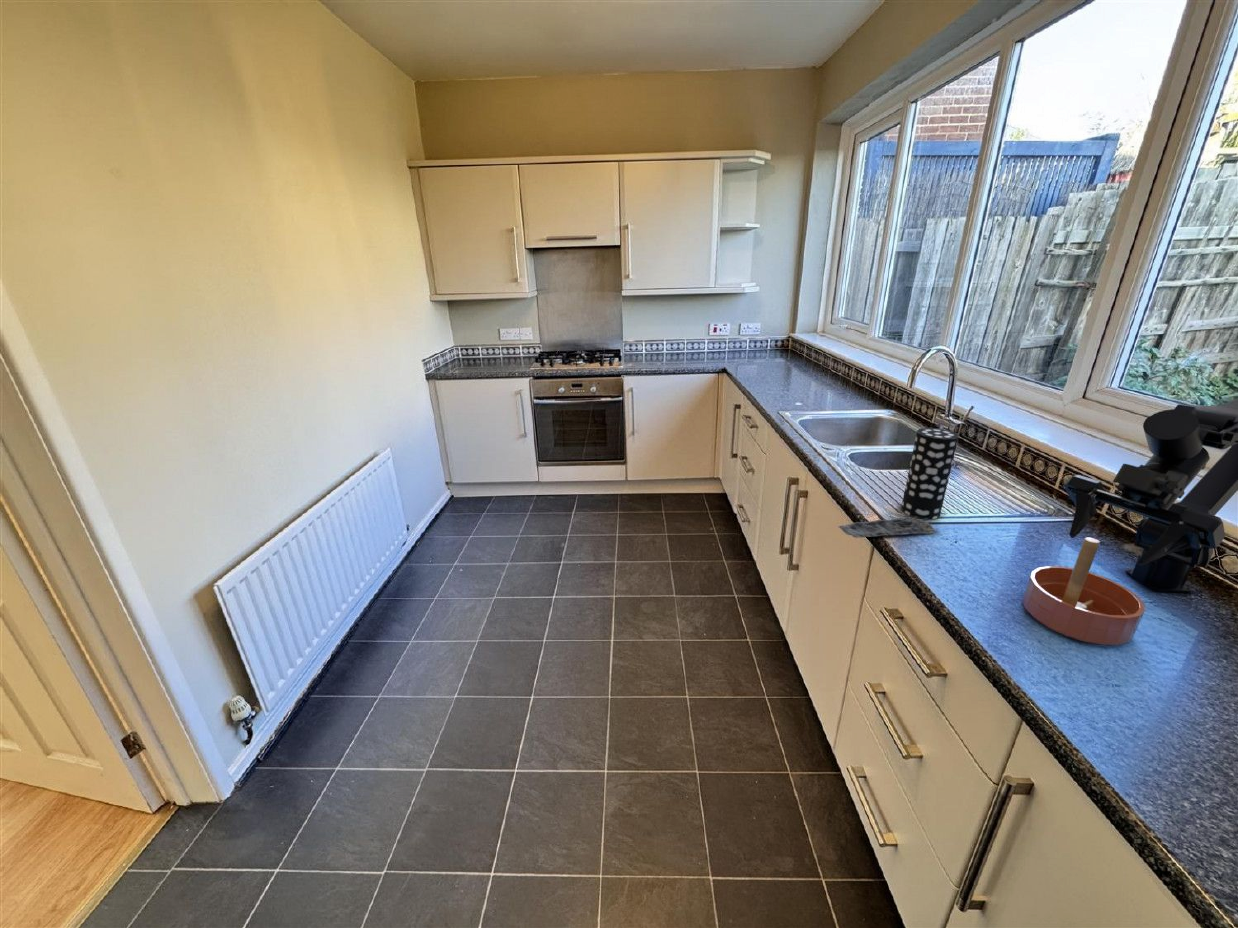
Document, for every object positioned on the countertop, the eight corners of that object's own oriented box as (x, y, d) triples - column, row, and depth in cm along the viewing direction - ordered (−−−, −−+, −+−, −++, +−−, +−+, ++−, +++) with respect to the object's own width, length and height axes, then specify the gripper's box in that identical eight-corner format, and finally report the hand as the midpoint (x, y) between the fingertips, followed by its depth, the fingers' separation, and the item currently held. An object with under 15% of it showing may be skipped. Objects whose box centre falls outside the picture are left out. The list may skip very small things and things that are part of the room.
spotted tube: (919, 501, 128) (935, 426, 121) (948, 515, 121) (968, 436, 114) (893, 506, 126) (908, 430, 119) (921, 521, 119) (939, 441, 111)
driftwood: (920, 520, 119) (922, 512, 118) (940, 535, 113) (942, 526, 112) (836, 527, 117) (837, 519, 117) (851, 542, 111) (852, 534, 110)
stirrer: (1083, 602, 88) (1113, 524, 83) (1097, 609, 87) (1129, 530, 81) (1052, 618, 84) (1081, 538, 79) (1066, 625, 83) (1097, 544, 77)
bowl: (1086, 595, 92) (1097, 567, 90) (1156, 650, 79) (1171, 619, 77) (1003, 592, 93) (1011, 564, 91) (1058, 646, 80) (1070, 615, 78)
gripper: (1087, 429, 85) (1028, 501, 86) (1248, 467, 69) (1174, 555, 70) (1100, 464, 91) (1044, 532, 91) (1252, 506, 75) (1183, 588, 75)
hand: (1104, 549), depth 82 cm, fingers open, 9 cm apart
